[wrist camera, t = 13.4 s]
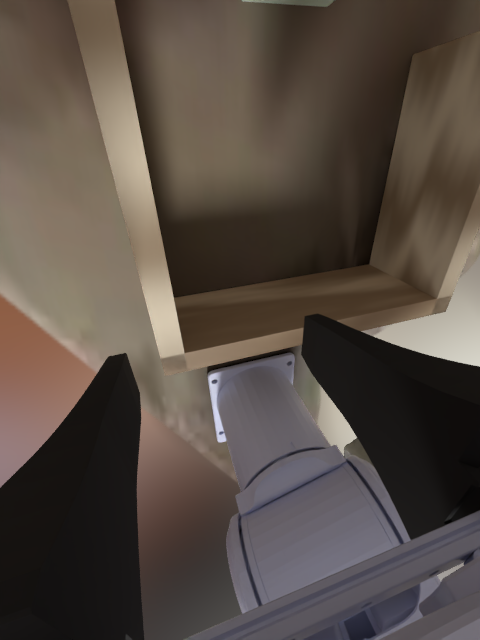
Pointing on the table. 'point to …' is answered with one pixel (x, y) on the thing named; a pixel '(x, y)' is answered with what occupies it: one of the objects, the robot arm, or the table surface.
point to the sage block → (296, 2)
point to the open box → (321, 288)
